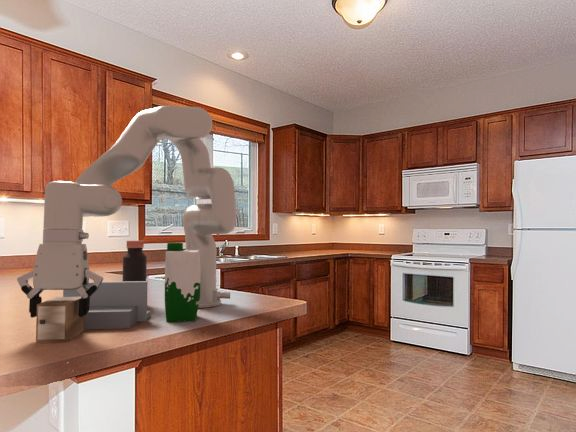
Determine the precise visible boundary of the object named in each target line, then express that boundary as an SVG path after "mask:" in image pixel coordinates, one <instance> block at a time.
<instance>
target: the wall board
mask: <svg viewBox="0 0 576 432" xmlns="http://www.w3.org/2000/svg"><path fill="white" fill-rule="evenodd" d="M93 283H94V281H89V283H88V285H87V287H88V288H90V287H91V286H92V285H93ZM148 283H149V282H148V281H147V280H146V281H125V282H123V281H102V283H101V284H100V286H99V288H98V290H96V291H95V292H94V293H93V294H92V296H90V305H89V312H87V315H85V316H84V330H113V329H115V330H116V329H117V330H118V329H131V328H132V327H133V326H134V325H135V324H137V322H147V320H149V318H150V317H151V310H148ZM62 292H63V293H62V297H81V295H80V294H79V293H78V292H77V290H76V289H75V290H62Z"/></svg>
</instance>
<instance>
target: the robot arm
mask: <svg viewBox="0 0 576 432" xmlns="http://www.w3.org/2000/svg"><path fill="white" fill-rule="evenodd" d="M213 124H214V123H213V119H212V117H211V115H210V113H209V112H208V111H207V110H206V109H204V108H202V107H201V106H200V107H199V106H182V105H181V106H179V105H160V106H156V107H153V108H148V109H147V108H146V109H144V110H140V112H138V113H136V115H135V116H134V117H133V118H132V119H131V120H130V122H129V124H128V125H127V126H126V127H125V129H124V130H123V131H122V133H121V134H120V136H119V137H118V138H117V140H116V141H115V142H114V143H113V145H112V146H111V147H110V148H109V149H108V150H107V151H105V152H104V153H102V154H101V155H100V156H99V157H98V158H97V159H96V160H95V161H93V162H92V163H91V164H90V165H89V166H87V168H85V170H83V171H82V172H81V173H80V175H79V176H78V177H77V179H76V180H75V181H66V180H65V181H64V180H57V181H56V180H54V181H49V182H48V183H47V184H46V185H45V188H44V204H43V205H44V206H43V207H44V208H43V209H44V210H43V226H42V227H43V229H42V243H39V244H38V248H37V252H36V256H35V261H34V266H33V270H31V271H29V272H27V273H25V274H22V275H20V276H19V277H17V278H16V280H17V283H18V285H19V287H20V289H21V291H22V292H23V293H24V294H25V295H26V298H27V299H29V304H28V307H29V308H28V312H29V314H30V318H32V319H33V318H37V304H40V303H42V302H43V299H42V296H40V295H41V294H42V293H43V292H44V291H45V290H46V291H60V290H61V291H63V290H75V289H76V290H77V292H78V293H79V294H80V295H81V298H80V299H79V314H78V316H79V317H83V316H85V315H87V312H89V305H90V296H92V294H93V293H94V292H95V291H96V290H98V288H99V286H100V284H101V283H102V282H104V277H103V276H101V275H99V274H97V273H95V272H93V271H91V270H90V265H89V264H90V263H89V255H88V248H87V244H86V243H83V241H84V240H86V239H87V240H88V239H89V237H90V236H89V235H90V234H89V233H88V232H85V231H84V230H83V227H84V226H83V225H84V224H83V221H84V218H85V217H87V218H88V217H94V218H95V217H97V218H98V217H109V216H112V215H114V214H115V213H117V212H118V211H119V210H120V209H121V207H122V203H123V199H122V198H123V197H122V195H121V193H120V192H119V191H118V189H117V188H115V187H113V186H112V185H113V184H115V183H116V182H117V181H119V180H121V179H123V178H124V177H127V176H130V175H131V174H133V173H135V172H136V171H138V170H140V169H141V168H142V167H143V166H144V164H145V163H146V161H147V160H148V158H149V156H150V155H152V152H153V151H154V149H155V148H156V146H157V145H158V143H159V142H160V141H162V140H169V141H170V142H171V143H172V144H173V145H174V146H175V148H176V149H177V151H178V153H179V154H180V159H181V166H182V173H183V174H182V175H183V176H182V177H183V186H184V190H185V194H186V196H187V197H188V198H190V199H192V200H211V203H195V204H192V205H190V206H188V207H187V208H186V209H185V210H184V212H183V215H182V225H183V230H184V231H183V233H184V238H185V250H199V257H200V270H201V275H200V302H199V306H198V309H203V308H205V309H206V308H213V307H217V306H220V305H221V304H222V300H221V299H228V300H231V292H228V291H222V292H221V291H218V288H217V253H218V252H217V244H216V241H215V239H214V236H213V235H227V234H229V233H231V232H233V231H234V229H235V227H236V224H237V207H236V206H237V205H236V195H235V186H234V181H233V178H232V174H230V172H229V171H228V170H227V169H225V168H223V167H219V166H217V167H216V166H215V167H211V166H212V165H211V160H210V153H209V150H208V148H207V146H206V144H205V143H204V142H203V140H202V138H205V137H207V136H208V135H209V134H210V133H211V131H212V129H213ZM31 279H32V285H33V287H32V286H31V285H30V283H29V281H30V280H31ZM90 280H92V282H94V283H93V285H92V286H91V287H90V288H88V287H87V285H88V283H89V282H90Z"/></svg>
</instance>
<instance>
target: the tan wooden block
mask: <svg viewBox="0 0 576 432" xmlns="http://www.w3.org/2000/svg"><path fill="white" fill-rule="evenodd" d="M80 298H81V297H63V296H55V297H53V298H50V299H48V300H45V301H42V303H40V304H37V316H36V318H35V319H36V325H35V343H36V344H45V343H47V344H50V343H54V344H55V343H68V342H70V341H71V340H72V339H74V338H75V337H76V336H79V335H80V334H81V333H83V332H84V330H85V329H84V316H83V317H79V316H78V314H79V299H80ZM82 331H83V332H82ZM79 333H80V334H79Z"/></svg>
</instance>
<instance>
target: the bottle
mask: <svg viewBox="0 0 576 432" xmlns="http://www.w3.org/2000/svg"><path fill="white" fill-rule="evenodd" d="M144 245H145V241H144V240H126V250H127V252H126V253H125V254H124V256H123V257H122V282H125V281H147V265H148V263H147V255H145V253H143V250H144V248H145V247H144Z"/></svg>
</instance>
